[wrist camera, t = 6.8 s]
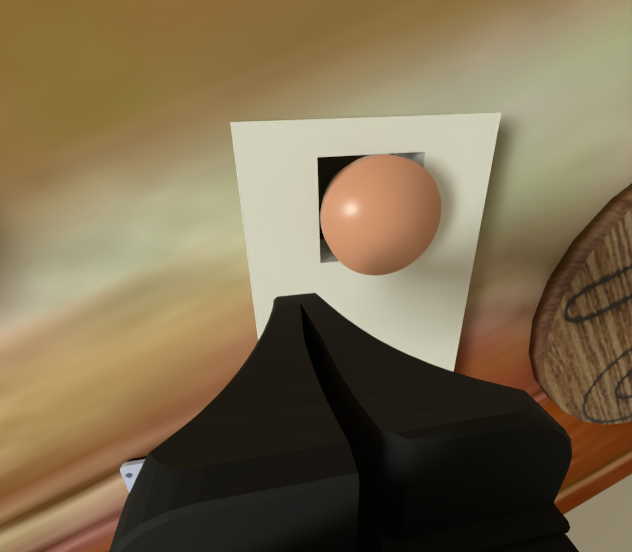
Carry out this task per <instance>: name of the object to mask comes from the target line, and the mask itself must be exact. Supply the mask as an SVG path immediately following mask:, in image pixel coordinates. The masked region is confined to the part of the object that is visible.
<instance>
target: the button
mask: <svg viewBox="0 0 632 552" xmlns="http://www.w3.org/2000/svg"><path fill="white" fill-rule="evenodd" d="M440 217H441V199H440V193H439V190H438V187H437V185H436V183H435V181H434V179H433V178H432V176H431V175H430V174H429V173H428V172H427V171H426V170H425V169H424V168H423V167H422V166H421V165H419V164H418V163H416V162H414V161H412V160H409V159H406V158H403V157H399V156H395V155H390V154H374V155H369V156H365V157H362V158H360V159H358V160H355V161H354V162H352V163H350V164H349V165H347V166H346V167H344V168H342V169H341V170H340V171H338V172H337V173H336V174H335V175H334V176H333V177H332V179H331V180H330V182H329V183H328V185H327V187H326V189H325V192H324V197H323V201H322V205H321V212H320V222H321V229H322V233H323V236H324V238H325V241H326V242H327V244H328V246H329V248H330V249H331V251H332V253H333V254H334V255H335V257H336V258H337V259H338V260H339V261H340V262H341V263H342V264H343V265H344V266H346V267H347V268H349V269H351V270H353V271H355V272H357V273H360V274H365V275H373V276H376V275H386V274H390V273H394V272H396V271H399V270H401V269H403V268H405V267H407V266H408V265H410V264H411V263H413V262H414V261H415V260H416V259H418V258H419V257H420V256H421V255H422V254H423V253H424V252H425V250H426V249H427V248H428V246H429V245H430V243H431V242H432V240H433V238H434V236H435V234H436V232H437V229H438V226H439V222H440Z"/></svg>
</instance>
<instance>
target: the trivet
mask: <svg viewBox="0 0 632 552" xmlns="http://www.w3.org/2000/svg"><path fill="white" fill-rule="evenodd" d="M529 356H530V361H531V365H532V370H533V374H534V379H535V380H536V381H537V383H538V384H539V385H540V387H541V388H542V389H543V391H544V392H545V393H546V395H547V396H548V397H549V398H550V399H551V400H552V401H553V402H554V403H555V404H556V405H557V406H558V407H559V408H561V409H562V410H563V411H565V412H566V413H568V414H570V415H572V416H574V417H576V418H578V419H579V420H581V421H584V422H591V423H599V424H606V425H610V424H619V423H627V422H632V184H630V185H629V186H628V187H627V188H625V189H624V190H623V191H621V192H620V193H619V194H618V195H616V196H615V197H614V198H612V199H611V200H610V201H609V202H608V203H607V204H606V205H605V207H604V208H603V209H602V210H601V211H600V212H599V213H598V214H597V215H596V216H595V217H594V219H593V220H592V221H591V222H590V223H589V224H588V225H587V226H586V227H585V228H584V230H583V231H582V232H581V233H580V234H579V235H578V236H577V237H576V238H575V239H574V241H573V242H572V244H571V245H570V247H569V248H568V250H567V252H566V253H565V255H564V256H563V258H562V259H561V261H560V263H559V264H558V266H557V267H556V269H555V270H554V272H553V273H552V275H551V277H550V278H549V280H548V281H547V284H546V286H545V289H544V292H543V294H542V297H541V299H540V302H539V305H538V307H537V310H536V312H535V315H534V317H533V321H532V329H531V337H530V346H529Z"/></svg>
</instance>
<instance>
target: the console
mask: <svg viewBox="0 0 632 552" xmlns="http://www.w3.org/2000/svg"><path fill="white" fill-rule="evenodd" d="M500 117H501V113H474V114H443V115H414V116H386V117H358V118H330V119H301V120H273V121H245V122H230V124H231V132H232V140H233V147H234V155H235V163H236V171H237V179H238V186H239V194H240V202H241V210H242V218H243V226H244V233H245V241H246V249H247V257H248V265H249V272H250V280H251V288H252V296H253V304H254V311H255V319H256V327H257V335H258V340H259V339H260V337H261V335H262V333H263V331H264V329H265V327H266V324H267V322H268V320H269V317H270V314H271V311H272V308H273V300H274V299H275V298H276V297H278V296H288V295H298V294H307V293H316V294H317V295H319V296H320V297H321V298H322V299H323V300H324V301H326V302H327V303H328V304H329V305H330V306H332V307H333V308H334V309H335V310H336V311H338V312H339V313H340V314H341V315H343V316H344V317H345V318H347V319H348V320H349V321H351V322H352V323H354V324H355V325H356V326H358V327H359V328H361V329H362V330H364V331H366V332H367V333H369V334H370V335H372V336H373V337H375V338H377V339H379V340H380V341H382V342H384V343H386V344H388V345H390V346H392V347H394V348H396V349H398V350H400V351H402V352H404V353H406V354H408V355H411V356H413V357H416V358H418V359H420V360H423V361H425V362H427V363H430V364H433V365H435V366H438V367H441V368H444V369H447V370H450V371H453V372H454V367H455V361H456V356H457V350H458V345H459V339H460V334H461V329H462V323H463V318H464V312H465V307H466V301H467V296H468V291H469V285H470V280H471V274H472V269H473V263H474V258H475V253H476V247H477V242H478V236H479V231H480V225H481V220H482V215H483V209H484V204H485V198H486V193H487V187H488V182H489V177H490V171H491V166H492V160H493V155H494V149H495V144H496V139H497V133H498V128H499V122H500ZM391 153H395V156H399V157H403V158H406V159H409V160H412V161H414V162H416V163H418V164H419V165H421V166H422V167H423V168H424V169H425V170H426V171H427V172H428V173H429V174H430V175H431V176H432V178H433V179H434V181H435V183H436V185H437V187H438V190H439V193H440V199H441V217H440V222H439V226H438V229H437V232H436V234H435V236H434V238H433V240H432V242H431V243H430V245H429V246H428V248H427V249H426V250H425V252H424V253H423V254H422V255H421V256H420V257H419V258H418V259H416V260H415V261H414V262H413V263H411V264H410V265H408V266H407V267H405V268H403V269H401V270H399V271H396V272H394V273H390V274H386V275H376V276H373V275H365V274H360V273H357V272H355V271H353V270H351V269H349V268H347V267H346V266H344V265H343V264H342V263H341V262H340V261H339V260H338V259H337V258H336V257H335V255H334V254H333V253H332V251H331V249H330V248H329V246H328V244H327V242H326V241H325V239H321V240H320V234H319V199H318V163H317V157H334V156H353V155H372V154H391Z"/></svg>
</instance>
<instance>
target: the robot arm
mask: <svg viewBox="0 0 632 552" xmlns="http://www.w3.org/2000/svg"><path fill="white" fill-rule="evenodd" d="M571 458H572V446H571V439H570V437H569V436H568V434H567V432H566V431H565V429H564V428H563V427H562V426H561V425H560V424H559V423H558V422H557V421H556V420H555V419H554V418H553V417H552V416H550V415H549V414H548V413H547V412H546V411H545V410H544V409H543V408H542V407H541V406H540V405H539V404H538V403H537V402H536V401H535V400H534V399H533V398H532V397H531V396H530V395H529V394H528V393H527V392H525V391H524V390H520V389H516V388H512V387H508V386H503V385H499V384H495V383H491V382H487V381H483V380H479V379H475V378H472V377H469V376H465V375H462V374H459V373H456V372H453V371H450V370H447V369H444V368H441V367H438V366H435V365H433V364H430V363H427V362H425V361H423V360H420V359H418V358H416V357H413V356H411V355H408V354H406V353H404V352H402V351H400V350H398V349H396V348H394V347H392V346H390V345H388V344H386V343H384V342H382V341H380V340H379V339H377V338H375V337H373V336H372V335H370V334H369V333H367V332H366V331H364V330H362V329H361V328H359V327H358V326H356V325H355V324H354V323H352V322H351V321H349V320H348V319H347V318H345V317H344V316H343V315H341V314H340V313H339V312H338V311H336V310H335V309H334V308H333V307H332V306H330V305H329V304H328V303H327V302H326V301H324V300H323V299H322V298H321V297H320V296H319V295H317V294H316V293H307V294H298V295H288V296H278V297H276V298H275V299H274V300H273V308H272V311H271V314H270V317H269V320H268V322H267V324H266V327H265V329H264V331H263V333H262V335H261V337H260V339H259V340H258V342H257V344H256V346H255V348H254V349H253V351H252V353H251V354H250V356H249V357H248V359H247V360H246V362H245V363H244V364H243V366H242V367H241V368H240V370H239V371H238V372H237V374H236V375H235V376H234V377H233V378H232V380H231V381H230V382H229V383H228V384H227V386H226V387H225V388H224V389H223V390H222V391H221V392H220V393H219V394H218V396H217V397H216V398H215V399H213V400H212V401H211V402H210V403H209V404H208V405H207V406H206V407H205V408H204V409H203V410H202V411H201V412H200V413H199V414H198V415H197V416H196V417H194V418H193V419H192V420H191V421H190V422H189V423H187V424H186V425H185V426H184V427H182V428H181V429H180V430H178V431H177V432H176V433H175V434H173V435H172V436H171V437H169V438H168V439H167V440H166V441H164V442H163V443H162V444H160V445H159V446H158V447H156V448H155V449H154V450H152V451H151V452H150V453H149V454H148V455H147V457H146V459H141V460H135V461H130V462H126V463H124V464H122V466H121V469H120V472H121V474H122V477H123V479H124V481H125V484H126V486H127V488H128V491H129V495H128V497H127V500H126V502H125V505H124V508H123V510H122V513H121V516H120V519H119V522H118V526H117V529H116V532H115V535H114V538H113V541H112V544H111V548H110V551H109V552H579V551H578V550H577V549H576V547H575V546H574V545H573V543H572V542H571V541H570V539H569V538H568V537H567V535H565V533H567V532H568V531H569V529H570V526H569V523H568V521H567V519H566V518H565V517H564V516H563V514H562V513H561V512H560V511H559V509H558V508H557V507H556V506H555V504H554V501H555V498H556V496H557V494H558V492H559V489H560V487H561V485H562V482H563V480H564V478H565V476H566V473H567V471H568V468H569V465H570V461H571Z"/></svg>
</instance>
